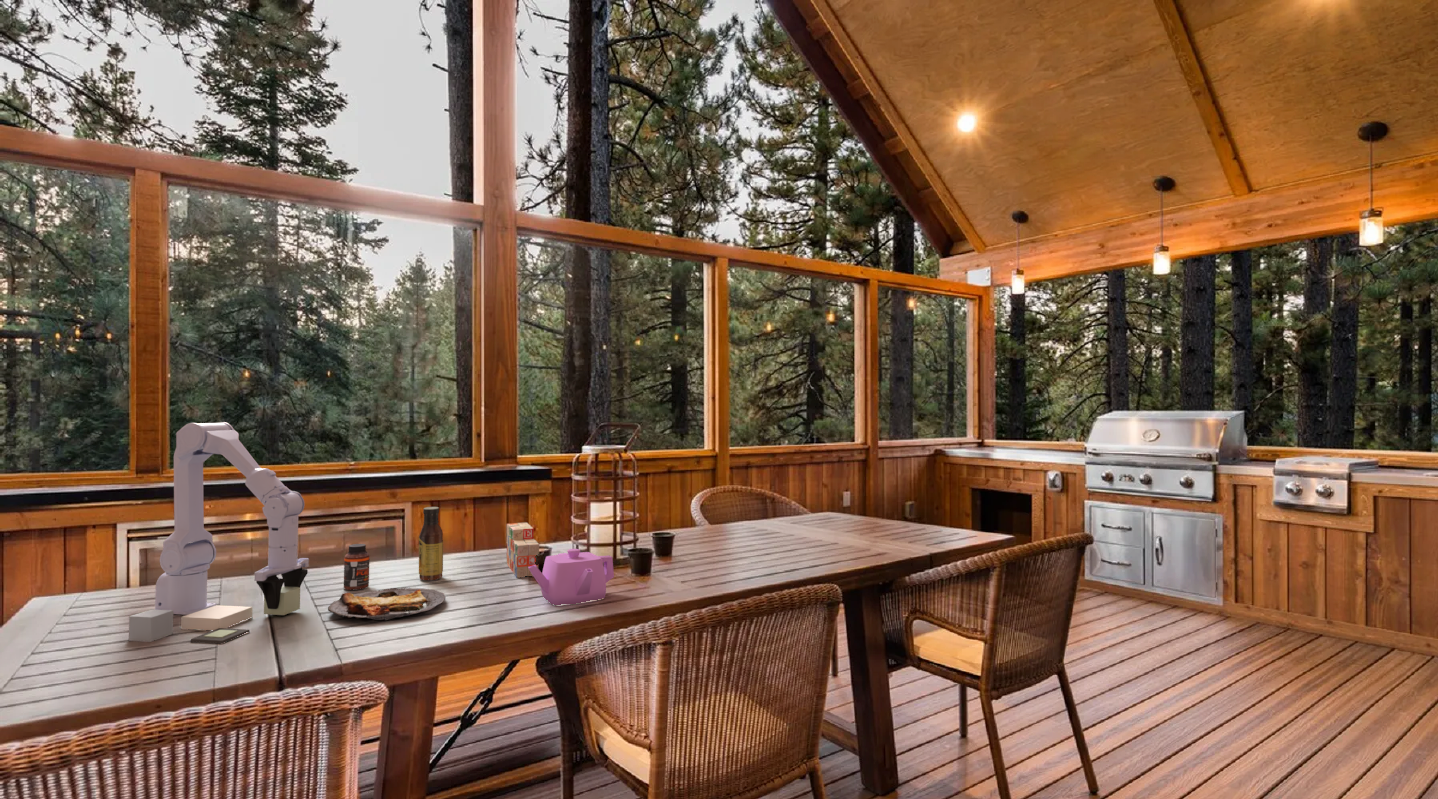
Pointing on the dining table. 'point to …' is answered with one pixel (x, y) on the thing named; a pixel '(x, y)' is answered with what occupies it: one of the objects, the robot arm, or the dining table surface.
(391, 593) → the food plate
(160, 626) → the grey block
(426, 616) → the dining table surface
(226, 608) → the base block
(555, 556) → the teakettle
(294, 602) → the sage block
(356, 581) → the supplement bottle
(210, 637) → the tile
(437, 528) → the sauce bottle
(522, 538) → the stack of blocks
